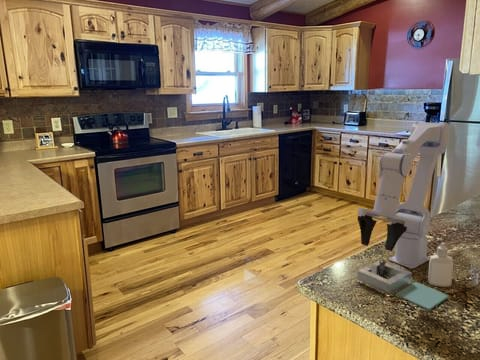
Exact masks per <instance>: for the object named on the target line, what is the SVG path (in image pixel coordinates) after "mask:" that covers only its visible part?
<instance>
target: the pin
mask: <svg viewBox="0 0 480 360" xmlns="http://www.w3.org/2000/svg"><path fill="white" fill-rule="evenodd" d="M379 260H380V261H379ZM379 260H378V261H379V263H380V269H379V276H381V277H383V278H385V277H384V275H385V264H386V263H387V262H386V260H383V259H379Z"/></svg>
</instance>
